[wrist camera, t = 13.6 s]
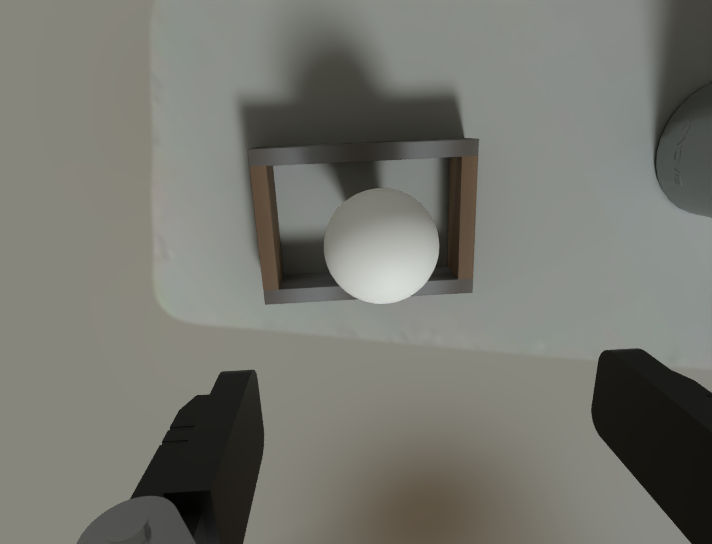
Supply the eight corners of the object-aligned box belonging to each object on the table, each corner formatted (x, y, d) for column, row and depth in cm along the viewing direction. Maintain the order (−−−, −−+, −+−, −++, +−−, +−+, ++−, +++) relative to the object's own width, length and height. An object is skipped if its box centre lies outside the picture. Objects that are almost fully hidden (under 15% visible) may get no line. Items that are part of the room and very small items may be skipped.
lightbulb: (314, 187, 30) (305, 218, 20) (401, 163, 30) (437, 181, 20) (339, 269, 32) (342, 336, 22) (420, 246, 32) (463, 304, 22)
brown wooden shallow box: (464, 137, 30) (478, 138, 27) (460, 278, 33) (472, 292, 30) (255, 147, 29) (247, 149, 26) (271, 289, 32) (265, 304, 30)
